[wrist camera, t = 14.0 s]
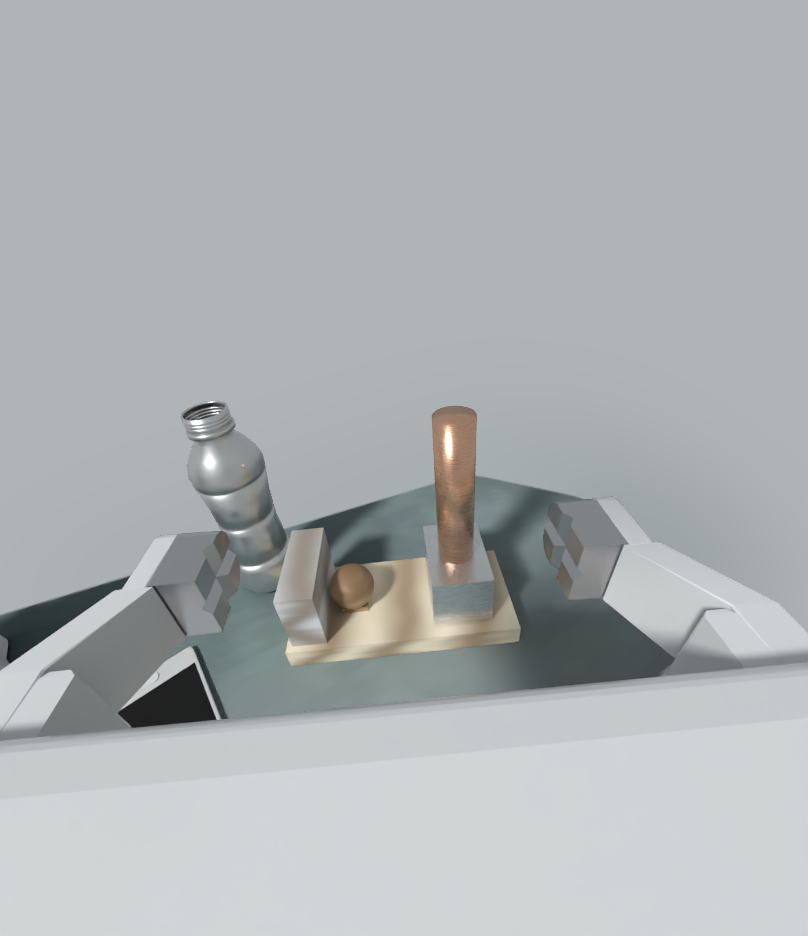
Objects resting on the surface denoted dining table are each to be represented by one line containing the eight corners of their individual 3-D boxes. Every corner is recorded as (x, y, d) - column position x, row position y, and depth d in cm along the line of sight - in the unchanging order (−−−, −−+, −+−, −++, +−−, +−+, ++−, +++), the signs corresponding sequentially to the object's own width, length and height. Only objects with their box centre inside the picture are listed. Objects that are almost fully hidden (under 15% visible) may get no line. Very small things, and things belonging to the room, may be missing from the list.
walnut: (332, 622, 35) (323, 592, 32) (336, 586, 38) (328, 556, 36) (377, 617, 35) (371, 587, 32) (377, 581, 38) (371, 551, 36)
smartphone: (195, 649, 36) (191, 643, 36) (258, 810, 26) (254, 805, 25) (109, 704, 33) (103, 698, 32) (142, 915, 23) (134, 912, 22)
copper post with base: (434, 624, 33) (422, 445, 23) (425, 562, 39) (413, 398, 29) (492, 618, 33) (505, 437, 23) (474, 557, 39) (479, 391, 29)
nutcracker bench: (291, 665, 34) (265, 609, 29) (306, 583, 41) (287, 527, 37) (518, 641, 34) (527, 581, 29) (492, 563, 41) (496, 505, 37)
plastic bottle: (245, 611, 39) (157, 439, 28) (238, 566, 44) (162, 405, 33) (308, 586, 41) (250, 415, 30) (294, 545, 46) (240, 387, 35)
